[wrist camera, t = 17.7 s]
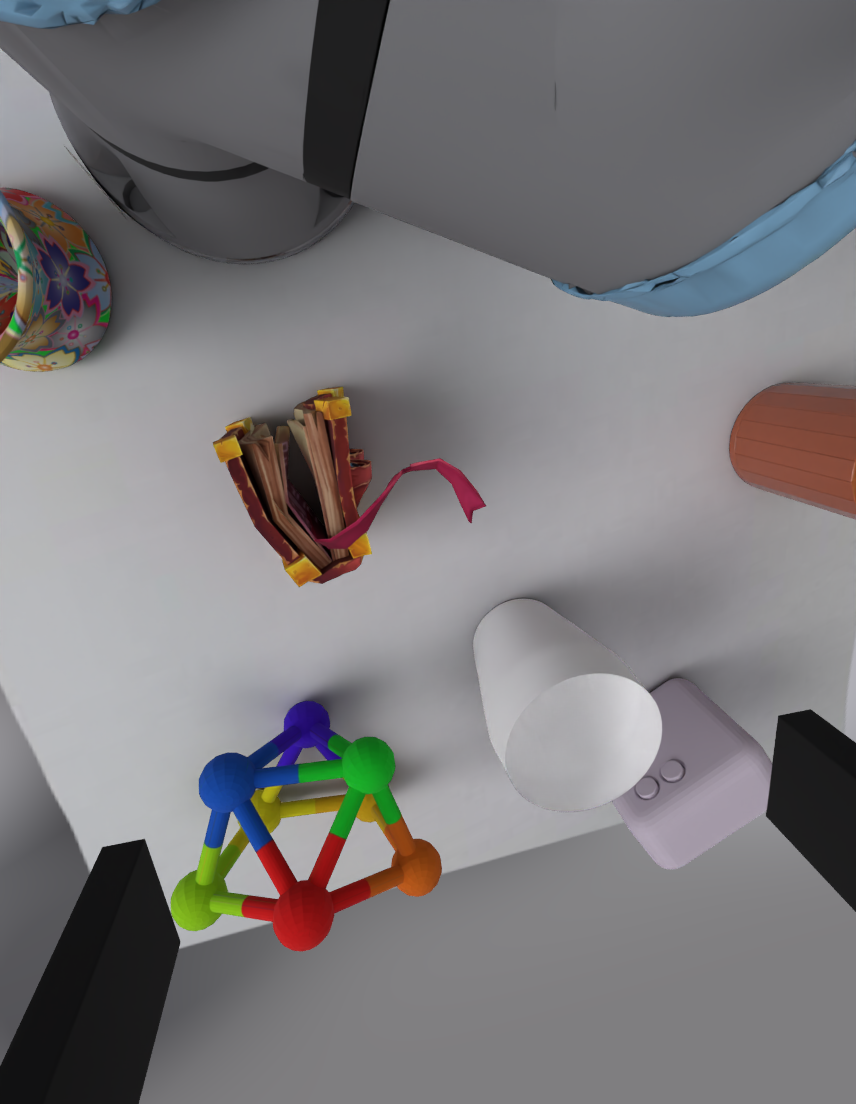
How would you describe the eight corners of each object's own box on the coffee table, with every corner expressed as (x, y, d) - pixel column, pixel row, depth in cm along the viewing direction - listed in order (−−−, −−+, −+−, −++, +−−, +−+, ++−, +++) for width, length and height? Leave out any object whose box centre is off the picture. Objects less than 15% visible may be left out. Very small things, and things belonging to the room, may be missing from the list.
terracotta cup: (733, 389, 38) (863, 400, 29) (832, 376, 39) (990, 384, 29) (725, 495, 40) (843, 537, 31) (818, 481, 41) (960, 518, 32)
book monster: (220, 405, 33) (422, 369, 35) (260, 549, 37) (442, 510, 38) (191, 431, 24) (471, 380, 25) (249, 624, 27) (494, 567, 29)
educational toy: (372, 637, 41) (423, 776, 27) (412, 778, 45) (472, 959, 32) (148, 707, 38) (77, 901, 25) (213, 849, 43) (185, 1080, 29)
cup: (584, 580, 41) (678, 665, 30) (569, 691, 44) (650, 807, 33) (459, 583, 39) (509, 674, 28) (452, 697, 42) (495, 821, 31)
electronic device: (676, 663, 45) (767, 745, 35) (701, 702, 46) (795, 791, 37) (570, 737, 45) (632, 837, 36) (598, 773, 47) (664, 878, 37)
